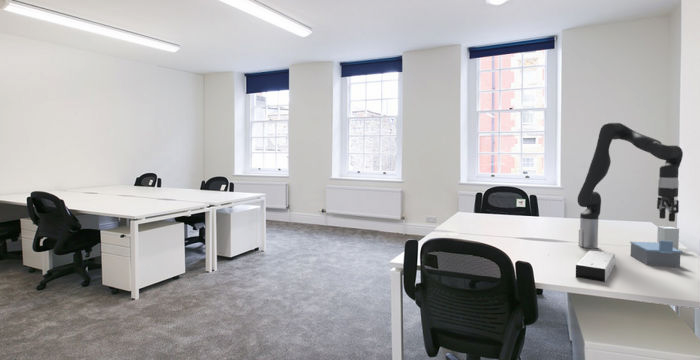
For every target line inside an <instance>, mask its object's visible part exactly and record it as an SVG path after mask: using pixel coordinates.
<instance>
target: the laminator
mask: <svg viewBox="0 0 700 360" xmlns="http://www.w3.org/2000/svg"><path fill="white" fill-rule="evenodd" d="M615 256H616V254H615V253H614V252H608V251H607V252H606V251H598V250H590V249H589V250H588V251H587V252H586V253H585V255H584V256H583V257H582V258H581V259H580V260H579V261H578V262H577V263H576V264H575V277H576V278H582V279H587V280H591V281H599V282H604V283H606V281H607V279H608V277H609V276H610V274H611V272H612V270H613V268H614V267H615V261H616V259H615Z"/></svg>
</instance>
